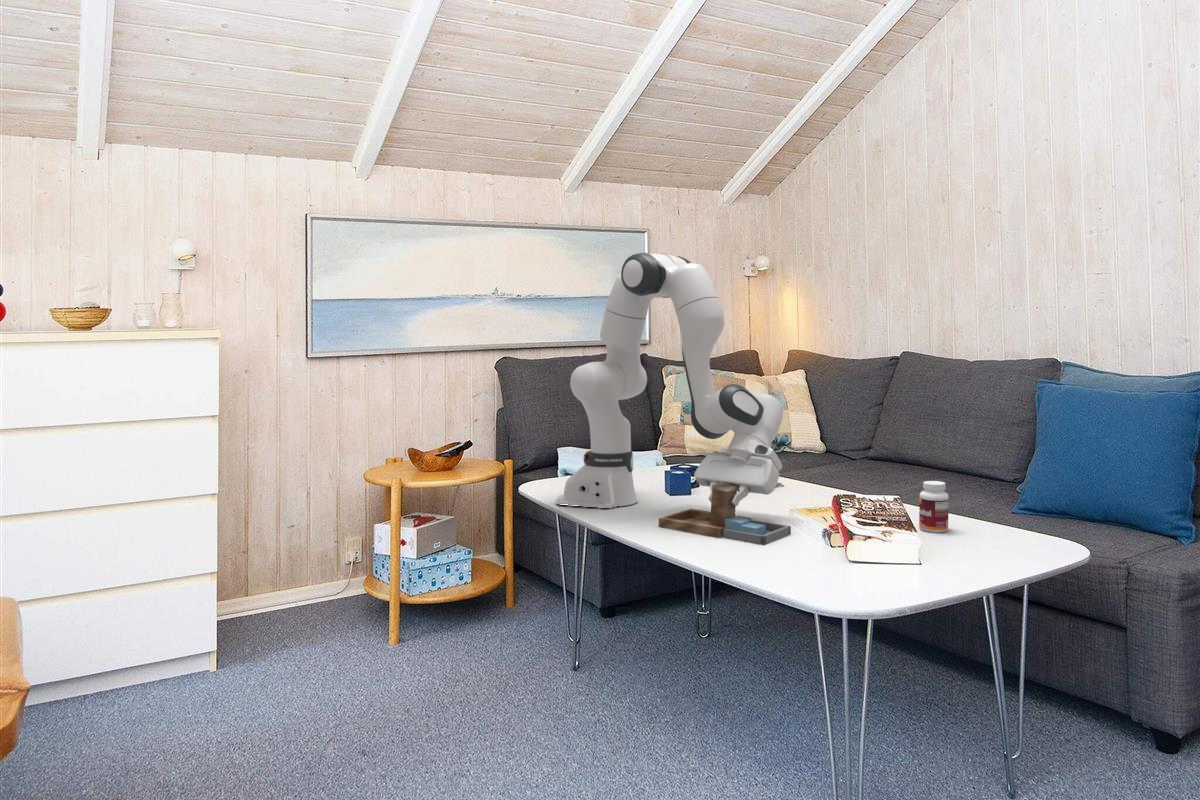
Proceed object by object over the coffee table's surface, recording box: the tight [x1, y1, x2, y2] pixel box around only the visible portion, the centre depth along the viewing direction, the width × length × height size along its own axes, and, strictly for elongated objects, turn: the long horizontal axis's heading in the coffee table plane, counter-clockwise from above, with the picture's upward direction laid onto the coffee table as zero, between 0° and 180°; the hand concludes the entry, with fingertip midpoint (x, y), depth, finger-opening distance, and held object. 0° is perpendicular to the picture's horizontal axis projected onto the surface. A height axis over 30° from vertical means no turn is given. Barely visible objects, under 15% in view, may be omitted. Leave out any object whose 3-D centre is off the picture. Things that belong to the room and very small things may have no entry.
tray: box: [722, 519, 792, 546], centre depth 175 cm, size 10×12×3 cm
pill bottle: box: [918, 480, 950, 534], centre depth 181 cm, size 6×6×11 cm
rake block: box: [710, 482, 738, 529], centre depth 180 cm, size 4×4×10 cm
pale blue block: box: [725, 515, 750, 531], centre depth 178 cm, size 4×4×3 cm
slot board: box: [658, 508, 752, 539], centre depth 184 cm, size 17×13×3 cm
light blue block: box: [741, 522, 767, 535], centre depth 175 cm, size 4×4×3 cm
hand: (722, 502), depth 180 cm, fingers closed on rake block, 4 cm apart
